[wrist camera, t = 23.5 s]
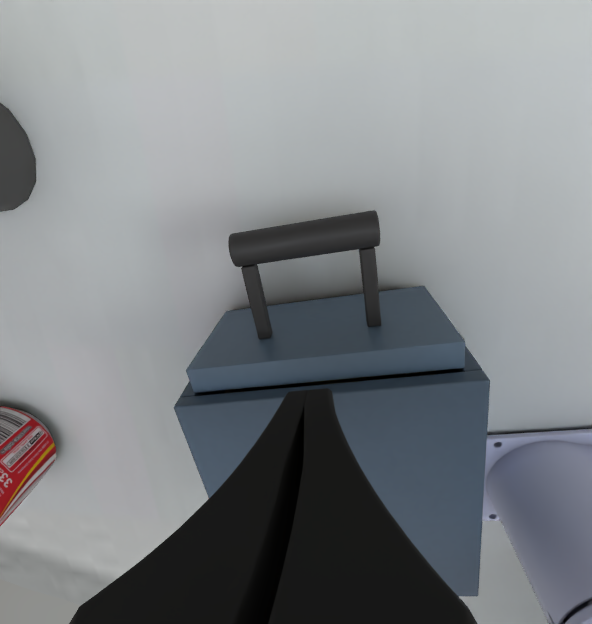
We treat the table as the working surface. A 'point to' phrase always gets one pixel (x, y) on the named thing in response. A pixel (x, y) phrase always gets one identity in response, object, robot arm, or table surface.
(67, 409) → the table surface
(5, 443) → the soda can
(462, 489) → the cabinet
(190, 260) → the table surface
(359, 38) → the table surface
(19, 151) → the candle holder
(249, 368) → the drawer
